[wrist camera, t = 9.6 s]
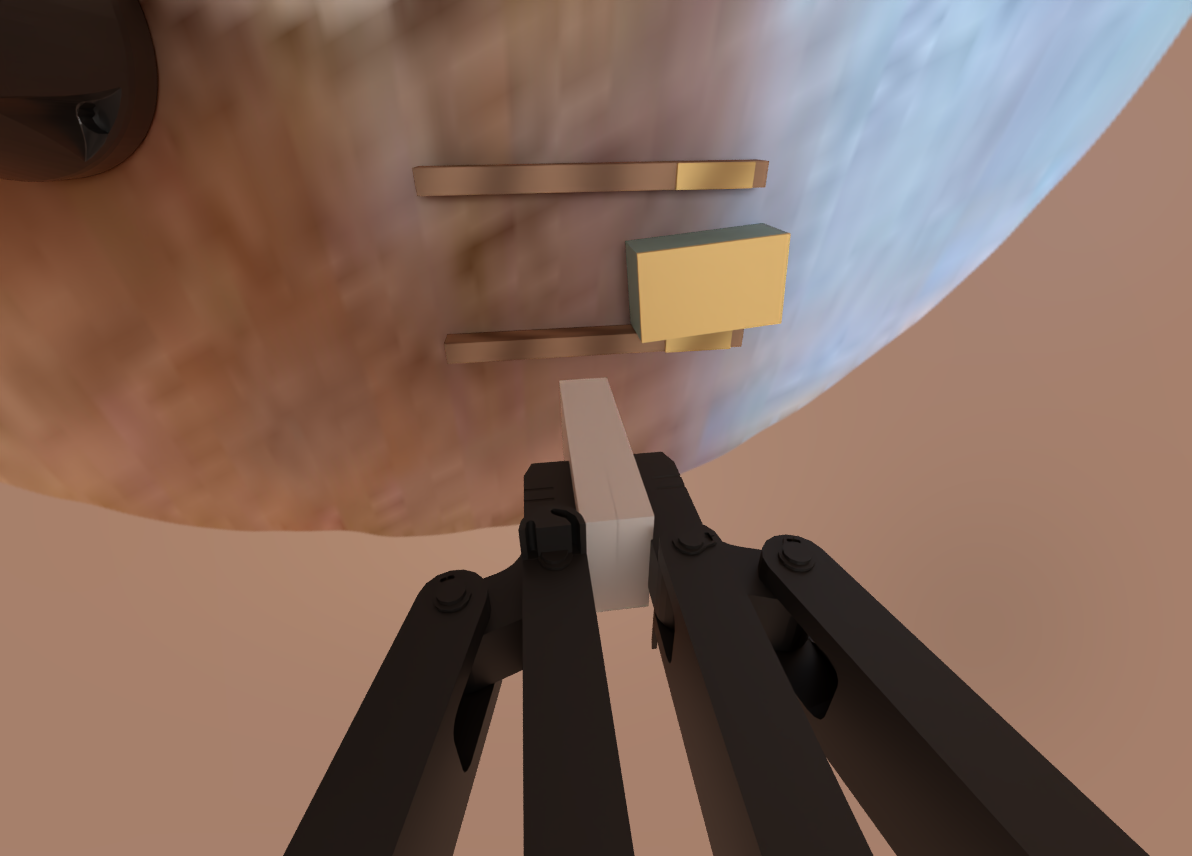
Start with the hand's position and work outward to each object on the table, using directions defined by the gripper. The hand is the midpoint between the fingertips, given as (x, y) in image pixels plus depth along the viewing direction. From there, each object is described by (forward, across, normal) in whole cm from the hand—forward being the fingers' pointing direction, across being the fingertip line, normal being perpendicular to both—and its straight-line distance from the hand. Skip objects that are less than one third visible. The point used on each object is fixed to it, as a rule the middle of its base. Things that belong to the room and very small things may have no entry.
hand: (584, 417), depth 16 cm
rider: (+22, +11, -1) cm, 25 cm away
